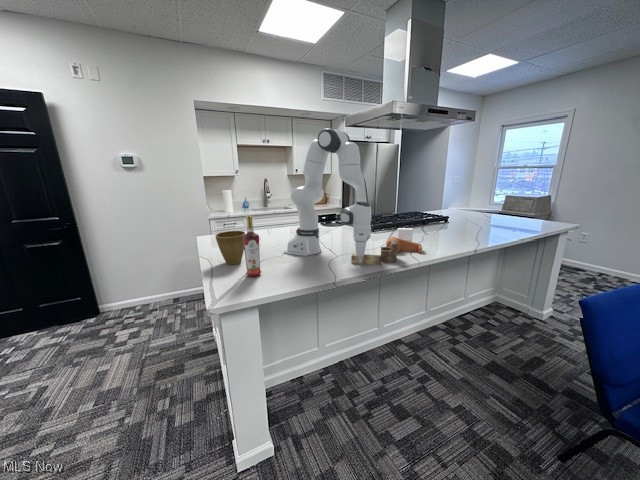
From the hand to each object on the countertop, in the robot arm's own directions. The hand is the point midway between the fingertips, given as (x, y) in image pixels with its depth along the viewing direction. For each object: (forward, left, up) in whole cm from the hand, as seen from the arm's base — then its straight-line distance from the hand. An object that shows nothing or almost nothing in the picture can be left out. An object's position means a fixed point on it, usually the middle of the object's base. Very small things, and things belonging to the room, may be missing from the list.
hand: (361, 259), depth 138 cm
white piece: (+24, +32, -2) cm, 40 cm away
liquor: (-48, -27, -2) cm, 55 cm away
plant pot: (-67, -13, -2) cm, 68 cm away
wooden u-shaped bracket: (+14, +7, -2) cm, 16 cm away
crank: (+23, +24, -2) cm, 33 cm away
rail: (+2, 0, -2) cm, 3 cm away
